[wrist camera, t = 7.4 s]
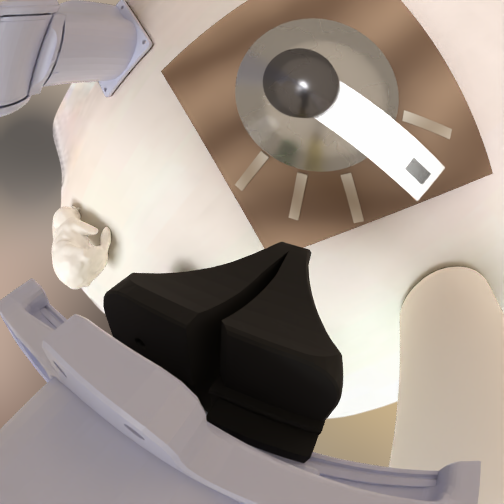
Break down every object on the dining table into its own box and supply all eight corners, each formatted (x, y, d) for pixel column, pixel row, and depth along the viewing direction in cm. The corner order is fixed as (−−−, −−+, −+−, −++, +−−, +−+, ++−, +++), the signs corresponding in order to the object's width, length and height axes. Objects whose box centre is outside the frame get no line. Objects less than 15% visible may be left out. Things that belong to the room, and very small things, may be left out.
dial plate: (172, 72, 19) (159, 71, 17) (352, -39, 9) (349, -50, 7) (276, 251, 22) (269, 260, 21) (484, 169, 12) (493, 173, 11)
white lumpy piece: (69, 303, 27) (31, 240, 28) (118, 274, 34) (76, 221, 35) (66, 272, 23) (29, 206, 25) (124, 243, 30) (80, 188, 32)
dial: (218, 116, 17) (179, 118, 14) (288, 2, 11) (263, -26, 8) (371, 229, 17) (371, 259, 13) (462, 116, 11) (490, 115, 7)
